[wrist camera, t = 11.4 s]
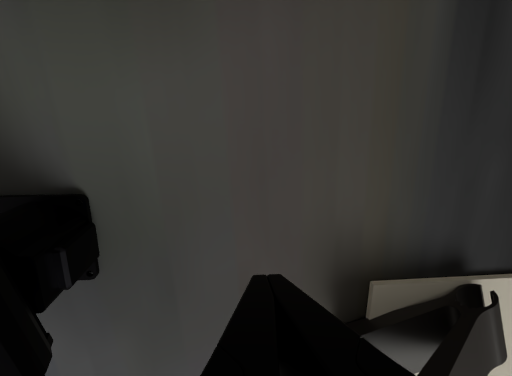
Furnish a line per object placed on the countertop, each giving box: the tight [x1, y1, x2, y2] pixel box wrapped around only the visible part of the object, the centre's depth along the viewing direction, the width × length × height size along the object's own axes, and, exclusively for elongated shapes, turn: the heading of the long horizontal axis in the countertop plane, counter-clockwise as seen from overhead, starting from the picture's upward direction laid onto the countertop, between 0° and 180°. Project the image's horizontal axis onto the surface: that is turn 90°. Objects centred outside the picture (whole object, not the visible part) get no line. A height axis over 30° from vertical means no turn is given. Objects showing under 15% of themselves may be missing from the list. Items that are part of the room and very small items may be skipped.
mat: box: [366, 274, 512, 376], centre depth 27 cm, size 16×18×1 cm
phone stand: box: [346, 284, 507, 376], centre depth 23 cm, size 9×6×12 cm
